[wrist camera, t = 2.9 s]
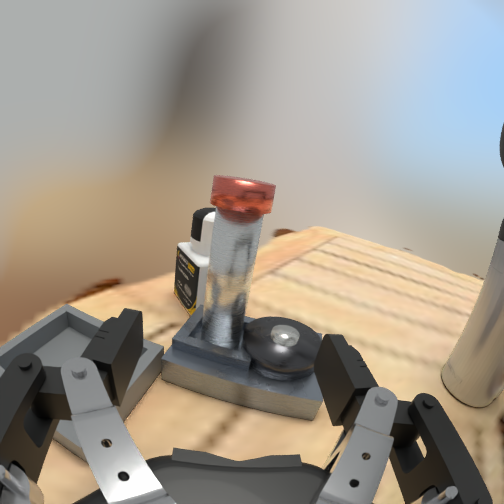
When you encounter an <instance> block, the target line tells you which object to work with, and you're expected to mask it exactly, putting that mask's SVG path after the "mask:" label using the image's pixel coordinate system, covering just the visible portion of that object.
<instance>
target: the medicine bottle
mask: <svg viewBox="0 0 504 504" xmlns="http://www.w3.org/2000/svg"><path fill="white" fill-rule="evenodd" d="M215 212H216V208H203V209H200V210H197V211H196V212H195V213H194V214H193V222H192V230H191V239H190V242H187V243H179V244H178V246H177V258H176V271H175V287H174V292H175V294H176V296H177V297H178V298H179V300H180V301H181V303H182V304H183V306H184V307H185V309H186V310H187V311H188V313H189V314H190V316H191V315H192V314H193V313H194V312H195V311H196V309H197V308H198V307H199V306H200V304H201V305H204V300H205V291H206V282H207V273H208V265H209V257H210V249H211V241H212V233H213V226H214V219H215Z"/></svg>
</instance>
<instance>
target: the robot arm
mask: <svg viewBox="0 0 504 504" xmlns="http://www.w3.org/2000/svg"><path fill="white" fill-rule="evenodd" d="M500 157H501V161H502V164H503V167H504V124H503V128H502V132H501V138H500ZM498 238H499V239H497V243H496V246H495V250H494V253H493V257H492V260H491V263H490V266H489V269H488V272H487V275H486V278H485V281H484V283H483V286H482V289H481V291H480V294H479V296H478V299H477V301H476V304H475V306H474V308H473V311H472V313H471V315H470V317H469V319H468V322H467V324H466V326H465V328H464V330H463V332H462V334H461V336H460V338H459V340H458V342H457V344H456V346H455V348H454V349H453V351H452V353H451V355H450V357H449V359H448V360H447V362H446V364H445V366H444V367H443V369H442V373H441V374H442V379H443V382H444V384H445V386H446V387H447V389H448V390H449V391H450V392H451V393H452V394H453V395H454V396H455V397H456V398H457V399H459V400H460V401H462V402H463V403H465V404H467V405H470V406H473V407H485V406H487V405H489V404H490V403H491V402H492V401H493V399H494V398H498V396H499V395H500V394H501V392H502V391H503V389H504V219H503V221H502V224H501V227H500V232H499V236H498ZM142 349H143V317H142V312H141V311H137V310H132V309H127V308H125V309H124V310H123V311H122V313H121V314H120V316H119V317H118V318H115V317H111V318H110V319H108V320H106V321H105V322H103V324H102V325H101V327H100V328H99V331H97V332H96V334H95V336H94V337H93V338H92V340H91V341H90V343H89V344H88V346H87V347H86V349H85V350H84V352H83V353H82V355H81V356H80V357H77V358H72V359H69V360H68V361H66V362H65V363H64V364H63V365H62V367H52V366H43V365H42V362H41V359H40V358H39V357H38V356H37V355H35V354H32V353H23V354H20V355H18V356H16V357H15V358H14V359H13V360H12V362H11V363H10V364H9V366H8V367H7V368H6V370H5V371H4V373H3V374H2V376H1V377H0V504H44V496H43V493H42V491H41V489H40V488H39V486H38V485H37V481H38V478H39V475H40V472H41V469H42V466H43V463H44V460H45V457H46V454H47V452H48V449H49V446H50V444H51V441H52V438H53V436H54V433H55V431H56V428H57V426H58V423H59V421H60V420H69V421H73V424H74V427H75V430H76V433H77V436H78V438H79V441H80V444H81V446H82V449H83V451H84V454H85V456H86V459H87V461H88V464H89V466H90V468H91V470H92V472H93V475H94V477H95V479H96V481H97V483H98V485H99V487H100V489H98V490H96V491H94V492H93V493H91V494H89V495H87V496H86V497H84V498H82V499H80V500H78V501H76V502H75V503H73V504H373V503H372V501H373V499H374V496H375V494H376V491H377V489H378V486H379V484H380V481H381V478H382V475H383V473H384V470H385V467H386V464H387V461H388V458H389V459H390V461H391V464H392V467H393V470H394V472H395V475H396V478H397V481H398V484H399V487H400V490H401V492H402V495H403V498H404V501H405V504H493V502H492V498H491V496H490V493H489V491H488V489H487V487H486V485H485V483H484V481H483V479H482V477H481V475H480V473H479V471H478V469H477V467H476V465H475V463H474V461H473V459H472V458H471V456H470V454H469V452H468V450H467V448H466V447H465V445H464V443H463V441H462V440H461V438H460V436H459V434H458V433H457V431H456V429H455V427H454V426H453V424H452V422H451V421H450V419H449V417H448V416H447V414H446V413H445V411H444V409H443V408H442V406H441V404H440V403H439V401H438V400H437V399H436V398H435V397H433V396H432V395H429V394H426V393H421V394H418V395H417V396H416V397H415V398H414V400H413V401H412V402H409V401H401V400H397V397H396V396H395V394H394V393H393V392H391V391H390V390H388V389H386V388H383V387H379V386H378V384H377V382H376V381H375V379H374V377H373V375H372V374H371V372H370V370H369V369H368V367H367V365H366V363H365V362H364V361H363V358H362V357H361V355H360V353H359V352H358V351H357V350H356V349H355V348H354V347H352V346H351V345H348V344H347V342H346V340H345V338H344V337H343V335H339V334H325V336H324V337H323V340H322V342H321V345H320V348H319V350H318V353H317V356H316V358H315V362H314V373H315V376H316V379H317V382H318V385H319V387H320V390H321V393H322V396H323V399H324V402H325V405H326V408H327V411H328V413H329V416H330V419H331V422H332V425H333V426H340V425H343V427H344V430H343V431H342V433H341V434H340V436H339V438H338V440H337V442H336V444H335V446H334V448H333V449H332V451H331V453H330V455H329V457H328V458H327V460H326V462H325V463H324V465H323V466H322V468H320V467H317V466H314V465H311V464H307V463H303V462H301V458H300V454H299V455H270V456H265V457H261V458H256V459H250V460H245V461H234V460H231V459H227V458H223V457H220V456H216V455H213V454H210V453H207V452H200V451H192V450H185V449H179V448H173V454H172V455H167V456H159V457H155V458H151V459H148V460H146V461H145V460H144V458H143V457H142V455H141V453H140V452H139V450H138V448H137V447H136V445H135V443H134V441H133V440H132V438H131V436H130V434H129V432H128V430H127V429H126V427H125V425H124V423H123V421H122V419H121V417H120V415H119V413H118V411H117V409H116V407H115V406H118V407H120V406H121V404H122V401H123V398H124V396H125V393H126V391H127V388H128V385H129V383H130V380H131V378H132V375H133V373H134V370H135V368H136V365H137V363H138V361H139V358H140V356H141V353H142ZM114 405H115V406H114ZM420 436H421V438H422V441H423V443H424V445H425V447H426V450H427V453H426V457H425V458H424V457H423V455H422V452H421V450H420V448H419V446H418V444H417V442H416V440H417V439H418V438H419V437H420Z"/></svg>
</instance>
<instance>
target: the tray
mask: <svg viewBox="0 0 504 504" xmlns="http://www.w3.org/2000/svg"><path fill="white" fill-rule="evenodd" d="M102 324H103V321H101V320H99V319H96V318H94V317H92V316H90V315H88V314H86V313H84V312H82V311H80V310H78V309H76V308H74V307H72V306H70V305H68V304H66V305H64V306H62V307H61V308H59V309H58V310H56V311H54V312H53V313H51V314H50V315H48V316H47V317H45V318H44V319H42V320H40V321H39V322H37V323H36V324H34V325H33V326H31V327H30V328H28V329H27V330H25V331H24V332H22V333H21V334H19V335H18V336H16V337H15V338H13V339H12V340H10V341H9V342H7V343H6V344H5V345H3V346H2V347H0V377H1V376H2V374H3V373H4V371H5V370H6V368H7V367H8V366H9V364H10V363H11V362H12V360H13V359H14V358H15V357H16V356H18V355H20V354H23V353H32V354H35V355H37V356H38V357H39V358H40V359H41V362H42V365H43V366H52V367H62V365H63V364H64V363H65V362H66V361H68V360H69V359H72V358H77V357H80V356H81V355H82V353H83V352H84V350H85V349H86V347H87V346H88V344H89V343H90V341H91V340H92V338H93V337H94V336H95V334H96V332H97V331H99V328H100V327H101V325H102ZM163 355H164V346H161V345H158V344H156V343H153V342H151V341H148V340H145V339H143V349H142V353H141V356H140V358H139V361H138V363H137V365H136V368H135V370H134V373H133V375H132V378H131V380H130V383H129V385H128V388H127V391H126V393H125V396H124V398H123V401H122V404H121V406H120V407H118V406H115V405H114V406H115V407H116V409H117V411H118V413H119V415H120V417H121V419H122V421H123V422H124V420H125V419H126V418H127V416H128V415H129V414H130V412H131V411H132V410H133V408H134V407H135V406H136V404H137V403H138V402H139V400H140V399H141V398H142V396H143V395H144V394H145V392H146V391H147V390H148V388H149V387H150V386H151V384H152V383H153V382H154V380H155V379H156V378H157V376H158V375H159V374H160V372H161V358H162V357H163ZM53 438H54V439H55V440H56V441H57V442H59V443H60V444H61V445H63V446H64V447H66V448H67V449H68V450H70V451H71V452H73V453H74V454H75V455H77V456H78V457H80V458H81V459H83V460H84V461H86V462H87V463H88V461H87V459H86V456H85V454H84V451H83V449H82V446H81V444H80V441H79V438H78V436H77V433H76V430H75V427H74V424H73V421H69V420H60V421H59V423H58V426H57V428H56V431H55V433H54V436H53Z"/></svg>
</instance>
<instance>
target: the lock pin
mask: <svg viewBox="0 0 504 504" xmlns="http://www.w3.org/2000/svg"><path fill="white" fill-rule="evenodd" d="M275 188H276V185H273V184H270V183H266V182H262V181H256V180H251V179H245V178H238V177H231V176H220V175H214V179H213V187H212V193H211V199H210V203H211V204H212V205H215V206H216V212H215V219H214V226H213V233H212V241H211V249H210V257H209V265H208V273H207V282H206V291H205V300H204V310H203V320H202V330H201V340H202V341H205V342H208V343H212V344H215V345H219V346H222V347H226V348H229V349H235V348H237V347H238V346H239V344H240V340H241V335H242V330H243V324H244V319H245V314H246V308H247V303H248V298H249V292H250V287H251V281H252V276H253V271H254V265H255V260H256V254H257V249H258V243H259V238H260V232H261V227H262V221H263V216H264V214H267V213H271V209H272V204H273V199H274V194H275Z"/></svg>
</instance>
